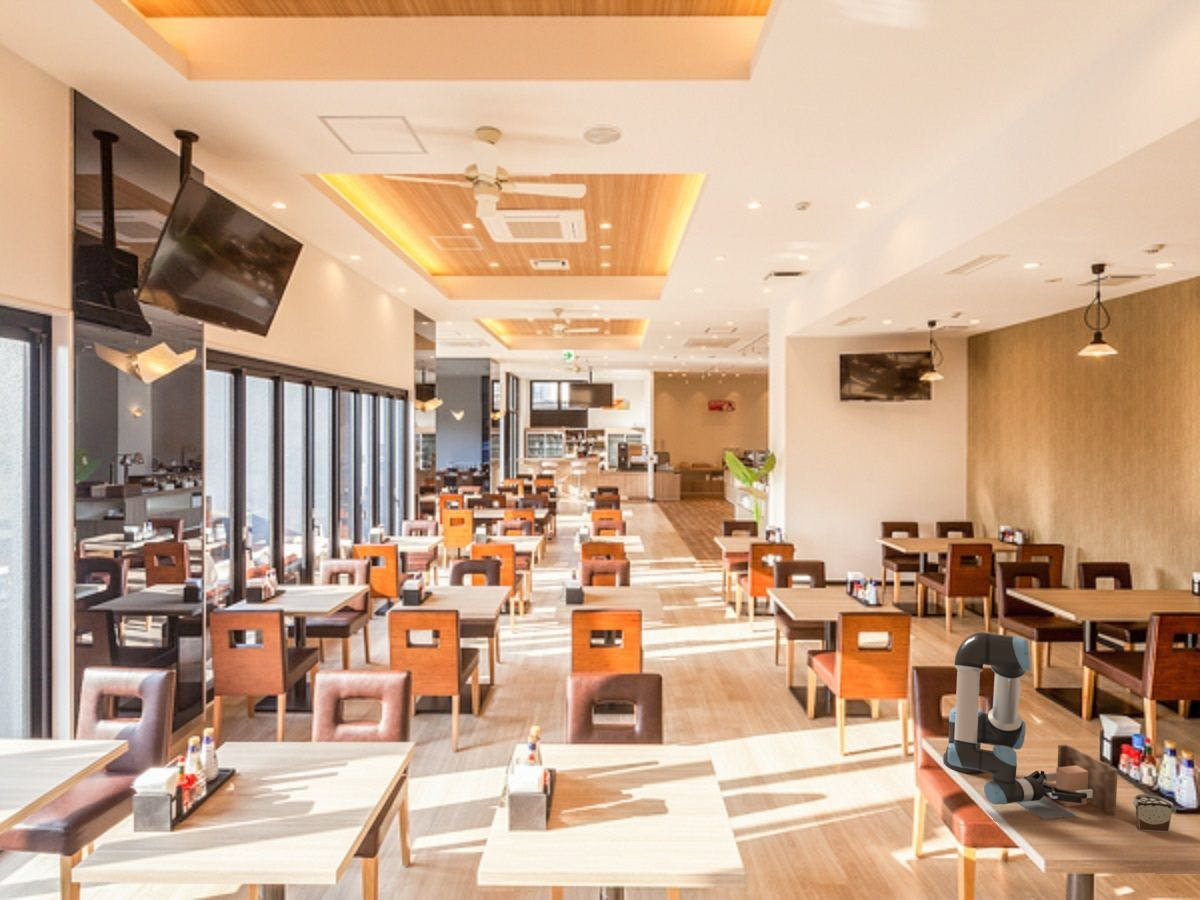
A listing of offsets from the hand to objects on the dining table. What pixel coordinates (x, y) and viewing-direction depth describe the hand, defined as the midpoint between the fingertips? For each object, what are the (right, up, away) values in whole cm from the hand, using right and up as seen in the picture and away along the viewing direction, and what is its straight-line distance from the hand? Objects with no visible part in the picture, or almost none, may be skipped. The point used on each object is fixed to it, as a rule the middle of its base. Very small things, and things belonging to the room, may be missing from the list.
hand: (1075, 784), depth 280 cm
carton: (-2, -6, 0) cm, 7 cm away
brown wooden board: (+5, -7, +2) cm, 8 cm away
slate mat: (-15, -6, -3) cm, 17 cm away
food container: (+15, -8, -16) cm, 23 cm away
